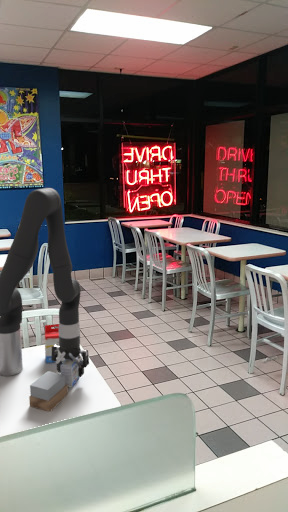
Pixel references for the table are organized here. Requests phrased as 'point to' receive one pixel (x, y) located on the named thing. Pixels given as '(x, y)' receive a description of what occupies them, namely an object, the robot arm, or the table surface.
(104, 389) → the table surface
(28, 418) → the table surface
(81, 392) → the table surface
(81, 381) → the table surface
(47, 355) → the ink box
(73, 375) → the medicine box
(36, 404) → the walnut base slab
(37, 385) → the slate top slab
